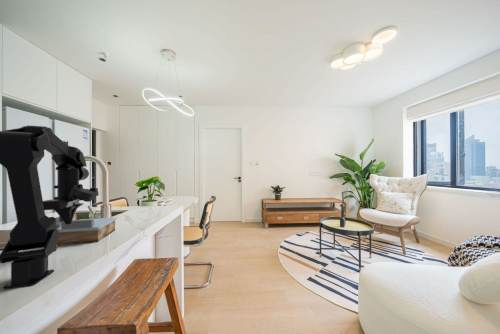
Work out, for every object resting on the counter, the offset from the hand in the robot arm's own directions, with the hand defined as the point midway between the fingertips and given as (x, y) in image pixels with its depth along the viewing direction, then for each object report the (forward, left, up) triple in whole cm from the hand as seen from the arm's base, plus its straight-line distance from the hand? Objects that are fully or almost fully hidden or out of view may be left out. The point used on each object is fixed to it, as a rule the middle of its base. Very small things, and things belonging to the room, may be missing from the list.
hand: (68, 224), depth 68 cm
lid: (+12, 0, -4) cm, 13 cm away
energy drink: (+22, +14, -9) cm, 28 cm away
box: (+12, 0, -9) cm, 15 cm away
